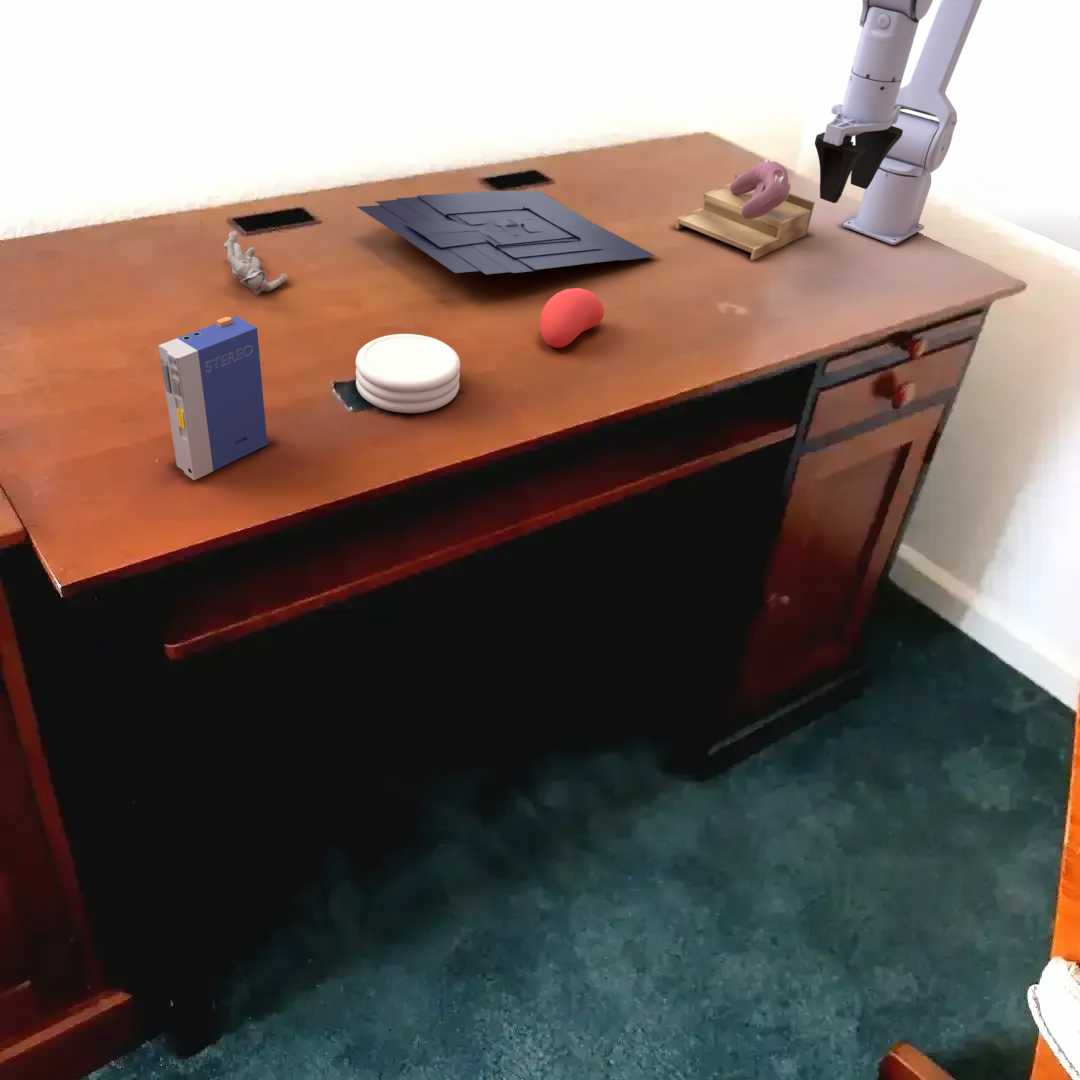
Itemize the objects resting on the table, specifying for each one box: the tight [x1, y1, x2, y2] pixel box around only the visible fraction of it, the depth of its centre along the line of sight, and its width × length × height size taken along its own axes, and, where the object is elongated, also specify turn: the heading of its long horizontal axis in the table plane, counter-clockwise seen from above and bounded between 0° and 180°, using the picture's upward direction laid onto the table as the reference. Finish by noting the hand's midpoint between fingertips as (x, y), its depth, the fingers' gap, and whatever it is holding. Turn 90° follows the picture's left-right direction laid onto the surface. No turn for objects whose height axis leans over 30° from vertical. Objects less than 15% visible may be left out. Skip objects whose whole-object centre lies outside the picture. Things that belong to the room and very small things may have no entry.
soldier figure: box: [223, 230, 289, 296], centre depth 117 cm, size 8×5×12 cm
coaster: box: [355, 333, 461, 414], centre depth 103 cm, size 10×10×4 cm
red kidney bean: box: [539, 287, 605, 349], centre depth 114 cm, size 5×9×6 cm
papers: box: [356, 190, 656, 275], centre depth 131 cm, size 24×30×4 cm
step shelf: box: [675, 173, 816, 261], centre depth 141 cm, size 14×12×4 cm
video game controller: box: [730, 158, 791, 219], centre depth 139 cm, size 10×5×7 cm, turn 2°
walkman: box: [157, 315, 268, 481], centre depth 89 cm, size 8×3×12 cm, turn 140°
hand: (844, 193), depth 128 cm, fingers open, 7 cm apart
